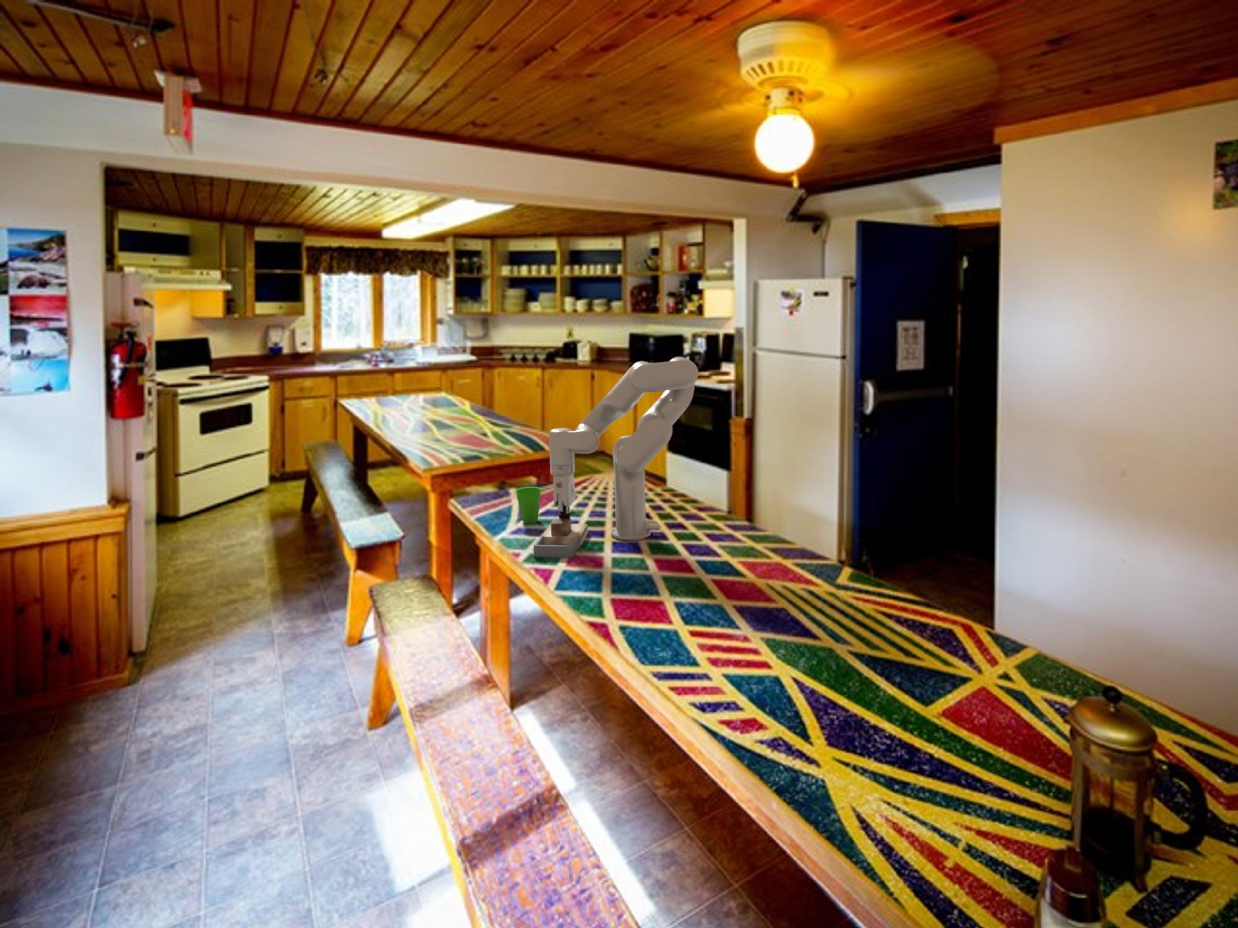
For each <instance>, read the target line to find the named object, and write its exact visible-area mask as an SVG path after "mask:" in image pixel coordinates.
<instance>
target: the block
mask: <svg viewBox="0 0 1238 928" xmlns="http://www.w3.org/2000/svg"><path fill="white" fill-rule="evenodd" d="M550 524H551V536H568V535H569V534H570V532H571V524H572V520H571V518H570V519H559V518H554V519H553V520H552V521H551V522H550Z"/></svg>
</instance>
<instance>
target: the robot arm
mask: <svg viewBox="0 0 1238 928" xmlns="http://www.w3.org/2000/svg"><path fill="white" fill-rule="evenodd" d="M698 377H699V369H698V367H697V365H696V364H695V363H694V362H693V361H691V360H690V359H688V358H686V357H683V356H676V357H673V358H672V359H670V360H669V361H664V362H663V361H662V362H661V361H660V362H648V361H644V360H640V361H637V362H635V363H634V364H633V365H631V367H629V369H628V370H627V371H626V372H625V374H623V376H622V377H621V378H620V379H619V380H618V381H617V383H616V384H615V385H614V386H613V387H612V388H611V390H610V391H609V392H608V393H607V394H606V395H605V396H604V397H603V398H602V399H601V400H600V401H599V402H598V404H596V406H595V407H593V409H592V410H591V411H590V412H589V413H588V414H587V416H585V417H584V419H582V421H581V422H580V423H579V424H578V426H577V427H576V428H575V430H572V429H571V428H568V427H559V428H558V427H557V428H553V429H551V430H550V431H549V433H548V441H549V443H548V445H549V447H548V448H549V465H550V466H549V467H550V475H552V477H553V478H552V479H553V481H552V488H553V489H552V490H553V491H552V492H553V494H552V495H553V506H554V507H557V512H558V519H571V513H570V511H571V508H570V507H571V506H572V504H573V503H574V502H575V501H576V486H575V485H576V484H575V476H574V474H575V473H576V472H575V471H576V467H575V466H576V465H575V463H576V462H575V461H576V460H575V453H578V454H584V455H585V454H591V453H595V451H596V450H597V449H598V448H599V445H600V439H599V438H600V437H601V436H602V434H604V432H606V430H607V429H608V428H609V427H610V426H611V425H612V424H613V423H614V422H616V421H617V420H620V419H621V418H623V417H625V416H626V415H628V413H629V412H631V410H633V408H634V406H635V405H636V404H637V403H638V402H639V401H640V400H641V399H642V398H643V397H644V396H645V395H646V393H659V392H663V393H662V394H661V395H660V397H659V398H657V400H656V401H655V402H654V403H653V404H652V405H651V406H650V408H649V409H647V411H646V412H645V413H644V414H642V415H641V417H640V418H639V419H638V422H637V429H636V430H635V431H634V432H633V433H632V434H631V435H629V434H628V435H624V436H623V435H622V436H620V437H619V438H617V440H616V441H615V443H614V445H613V448H612V461H613V462H612V463H613V475H614V479H613V480H614V509H615V510H614V511H615V513H614V514H615V527H613V528H612V529H611V531H610V535H611V537H612V538H614V539H617V540H620V541H621V540H622V541H637V540H644V539H646V538H648V537H650V536H651V534H652V533H651V532H652V531H659V532H660V530H661V529H660V528H661V525H660V524H659V523H657V522H649V521H648V518H647V517H646V474H645V473H646V472H645V468H646V467H647V465H649V464H650V462H651V461H653V459H654V458H655V457H656V456H657V455H658V454H659V453H660V452H661V451H662V450H663V449H664V448H665V447H666V445H667V444H668V443H669V441H670V440H671V437H672V435H673V425H674V424H675V423H676V422H677V421H678V419H680V417H681V416H682V415H683V413H684V412H685V411H686V410H687V409H688V407H689V406H690V404H691V402H692V400H693V397H694V392H695V383H696V382H697V380H698Z"/></svg>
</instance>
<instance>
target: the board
mask: <svg viewBox="0 0 1238 928" xmlns="http://www.w3.org/2000/svg"><path fill="white" fill-rule="evenodd" d="M588 529H589V528H588V524H586V523H571V532H570V534H569V535H568V536H551V523H550V524H549V525H548V527H547V528H546V529H545V530H544V532H543V534H542V535H544V545H571V544H572V542H573V540H574V539H575V537H576V536H579V548H581V547H582V544H583V542H584V541H585V539H586V538H587V535H588V533H589V530H588Z"/></svg>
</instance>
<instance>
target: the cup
mask: <svg viewBox="0 0 1238 928" xmlns="http://www.w3.org/2000/svg"><path fill="white" fill-rule="evenodd" d="M542 491H543V489H542V488H541V487H538V486H525V487H524V486H523V487H519V488H517V489H515V490H514V492H515V494H516V498H517V502H518V507H519V512H520V516H521V520H522V522H523V523H524V524H534V523H537V522H538V521H539V512H540V504H541V495H542Z"/></svg>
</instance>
